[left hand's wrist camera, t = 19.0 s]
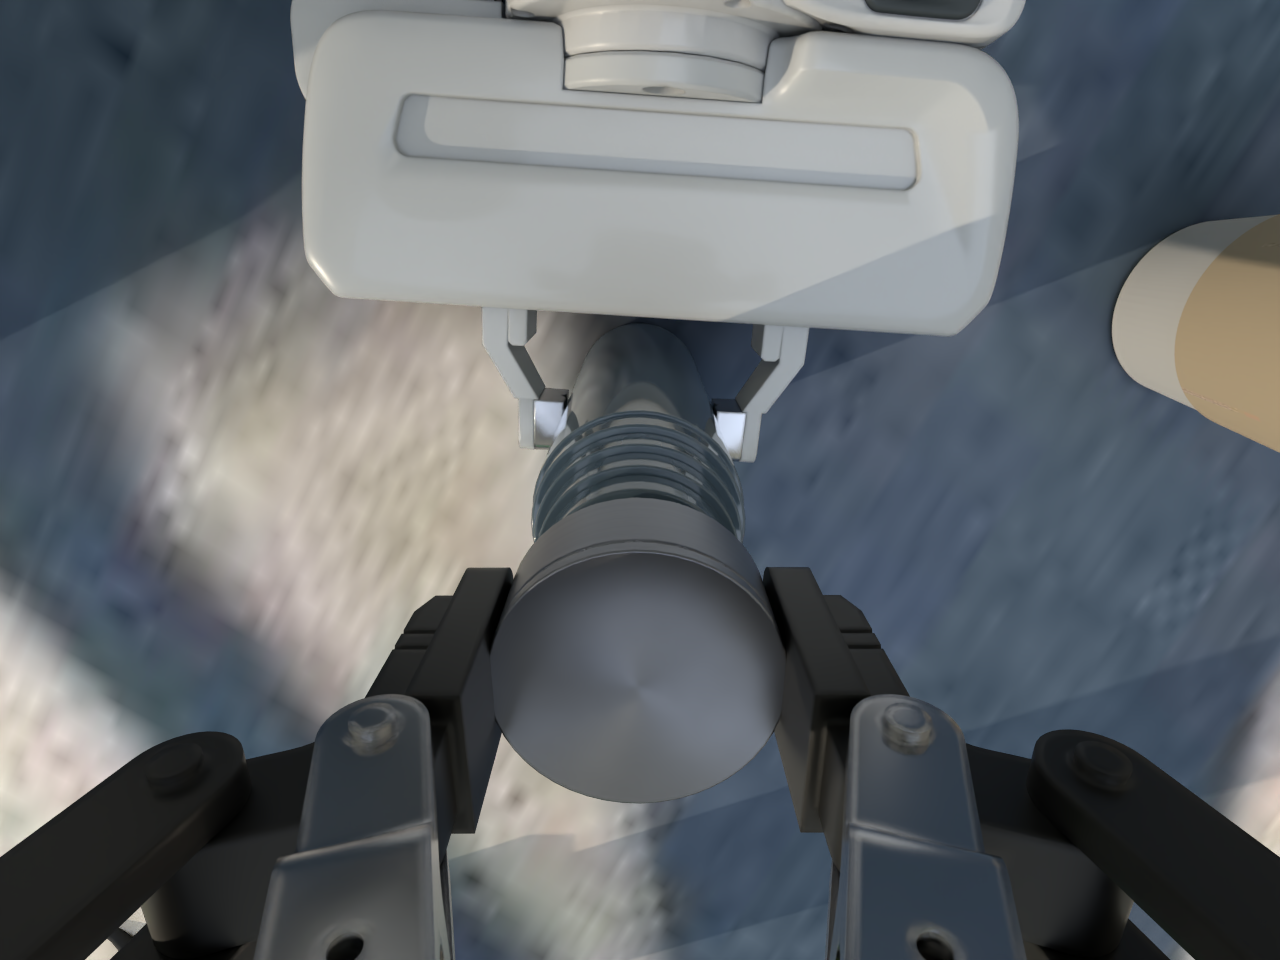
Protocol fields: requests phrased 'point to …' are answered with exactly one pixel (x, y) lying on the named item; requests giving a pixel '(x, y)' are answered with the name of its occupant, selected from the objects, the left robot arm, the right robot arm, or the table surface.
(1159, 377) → the coffee cup
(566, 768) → the cap
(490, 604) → the left robot arm
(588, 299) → the right robot arm
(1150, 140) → the table surface
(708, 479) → the bottle
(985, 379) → the table surface
